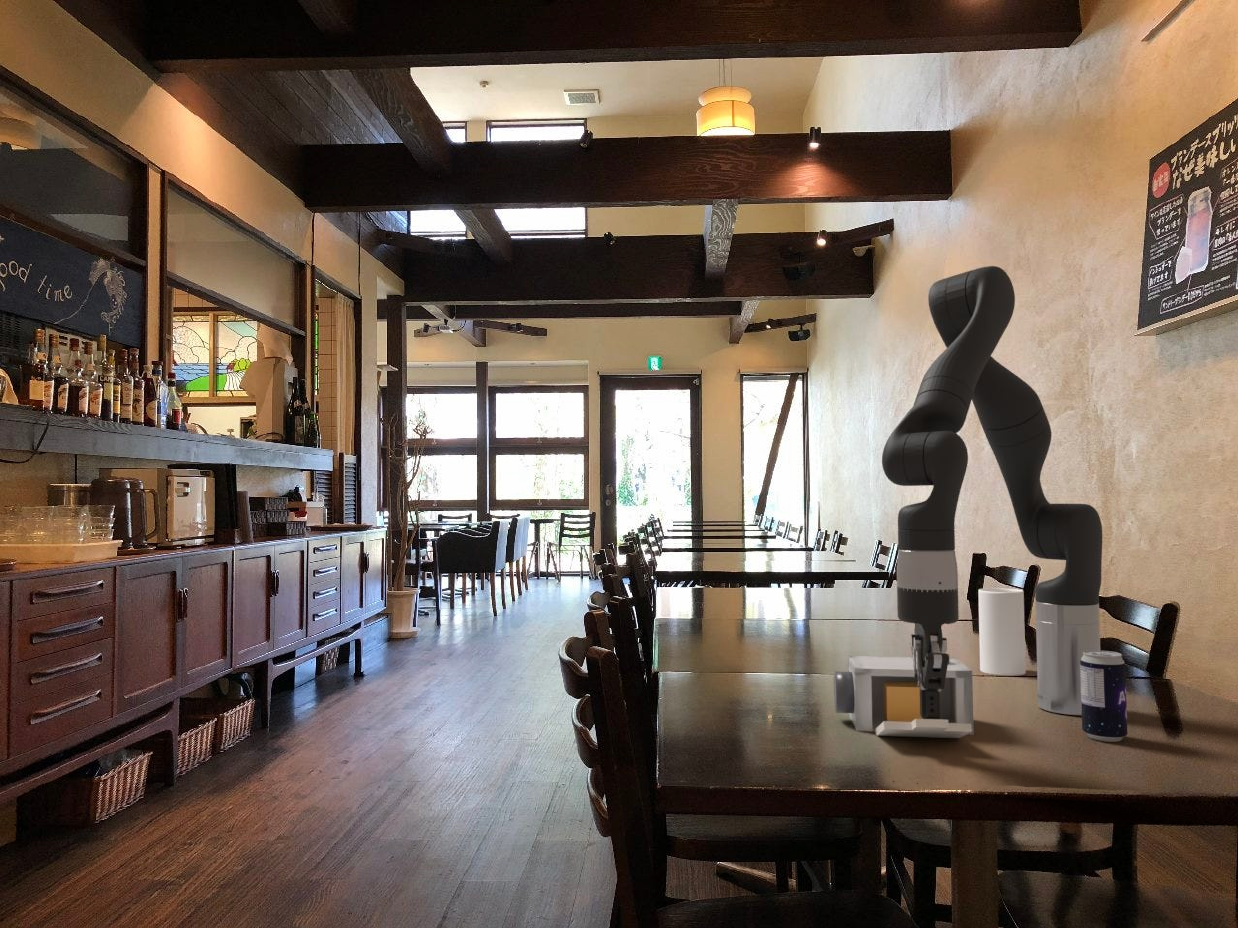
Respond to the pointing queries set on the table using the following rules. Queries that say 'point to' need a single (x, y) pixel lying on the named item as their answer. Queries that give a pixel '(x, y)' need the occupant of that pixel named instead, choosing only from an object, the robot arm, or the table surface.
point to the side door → (923, 728)
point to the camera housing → (898, 692)
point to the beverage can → (1103, 695)
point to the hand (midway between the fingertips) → (929, 718)
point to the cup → (1002, 631)
